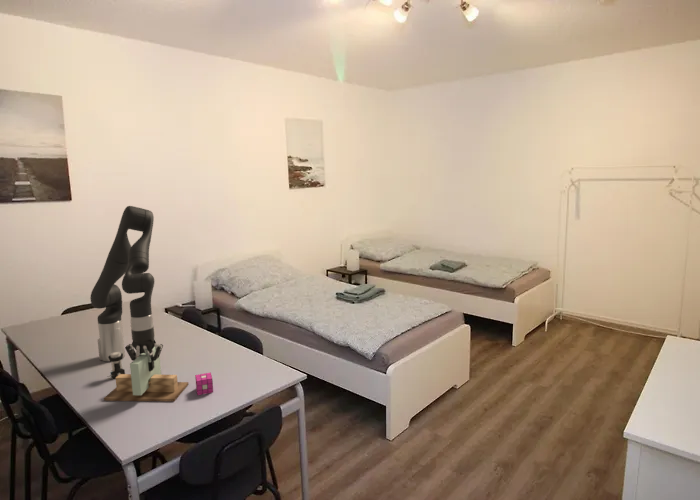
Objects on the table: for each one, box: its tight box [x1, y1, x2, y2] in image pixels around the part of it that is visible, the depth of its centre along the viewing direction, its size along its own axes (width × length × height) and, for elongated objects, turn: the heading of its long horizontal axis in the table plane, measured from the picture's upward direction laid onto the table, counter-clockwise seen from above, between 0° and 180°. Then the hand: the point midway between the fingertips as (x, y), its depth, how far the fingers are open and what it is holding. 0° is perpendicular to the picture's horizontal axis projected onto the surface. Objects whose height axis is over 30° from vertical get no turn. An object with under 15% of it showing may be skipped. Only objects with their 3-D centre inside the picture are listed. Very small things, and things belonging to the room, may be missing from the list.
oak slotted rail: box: [103, 373, 189, 402], centre depth 165 cm, size 26×13×6 cm, turn 88°
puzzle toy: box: [194, 372, 214, 396], centre depth 166 cm, size 6×6×6 cm
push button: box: [106, 352, 126, 380], centre depth 177 cm, size 7×5×10 cm
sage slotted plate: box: [129, 347, 162, 395], centre depth 164 cm, size 16×3×12 cm, turn 178°
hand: (146, 370), depth 164 cm, fingers closed on sage slotted plate, 3 cm apart
